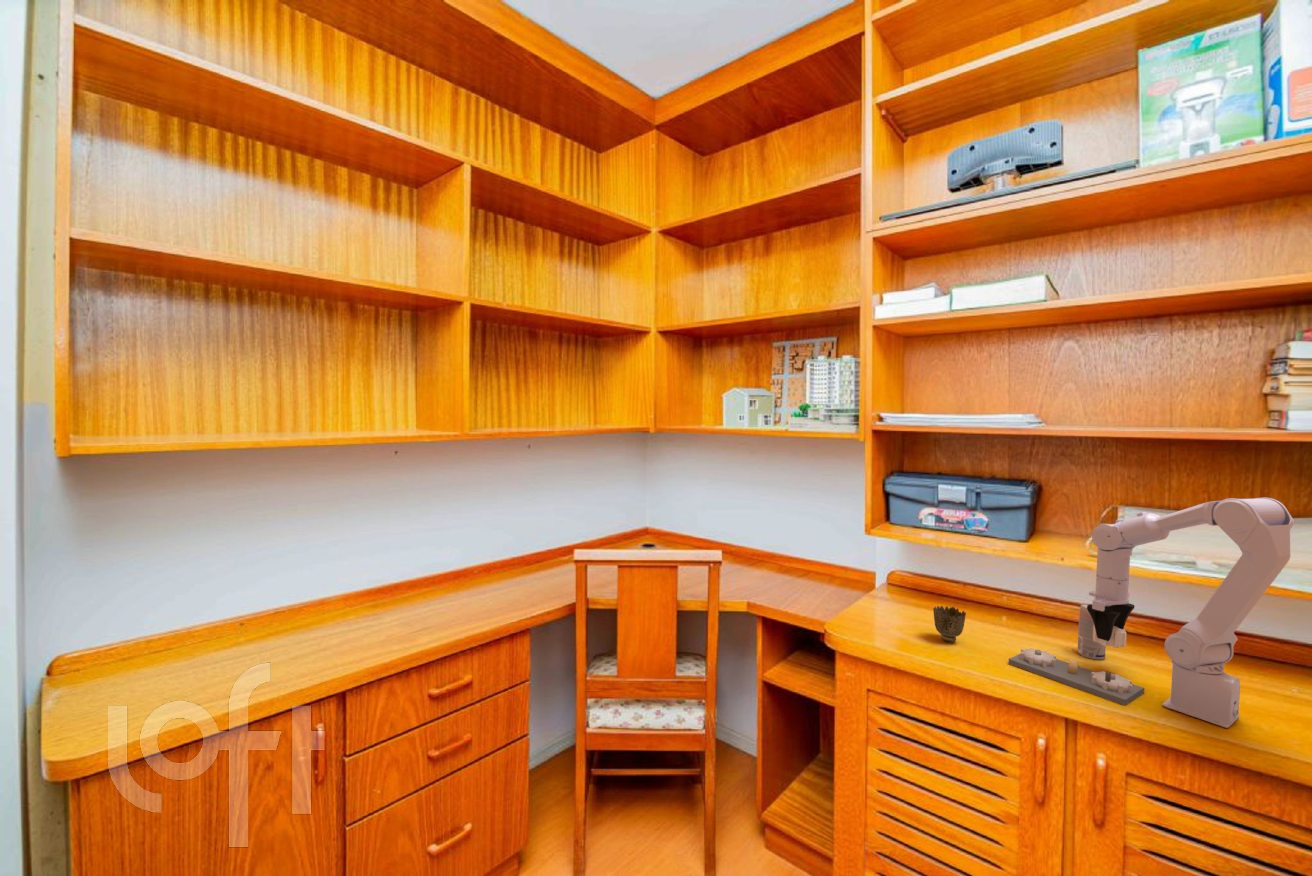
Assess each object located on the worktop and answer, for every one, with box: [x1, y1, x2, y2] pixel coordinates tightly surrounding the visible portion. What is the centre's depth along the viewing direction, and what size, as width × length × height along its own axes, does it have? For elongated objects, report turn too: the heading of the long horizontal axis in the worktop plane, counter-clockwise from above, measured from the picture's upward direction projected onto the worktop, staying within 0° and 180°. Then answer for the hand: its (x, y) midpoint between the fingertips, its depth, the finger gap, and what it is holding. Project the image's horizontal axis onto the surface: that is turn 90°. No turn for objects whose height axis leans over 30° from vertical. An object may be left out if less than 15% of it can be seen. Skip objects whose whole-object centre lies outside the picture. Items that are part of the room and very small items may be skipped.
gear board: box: [1007, 647, 1145, 706], centre depth 125 cm, size 22×10×4 cm, turn 32°
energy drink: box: [1077, 603, 1107, 661], centre depth 137 cm, size 5×5×12 cm
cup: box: [932, 605, 967, 644], centre depth 144 cm, size 8×7×8 cm
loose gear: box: [1093, 625, 1127, 649], centre depth 127 cm, size 6×6×3 cm
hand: (1109, 636), depth 127 cm, fingers closed on loose gear, 6 cm apart
